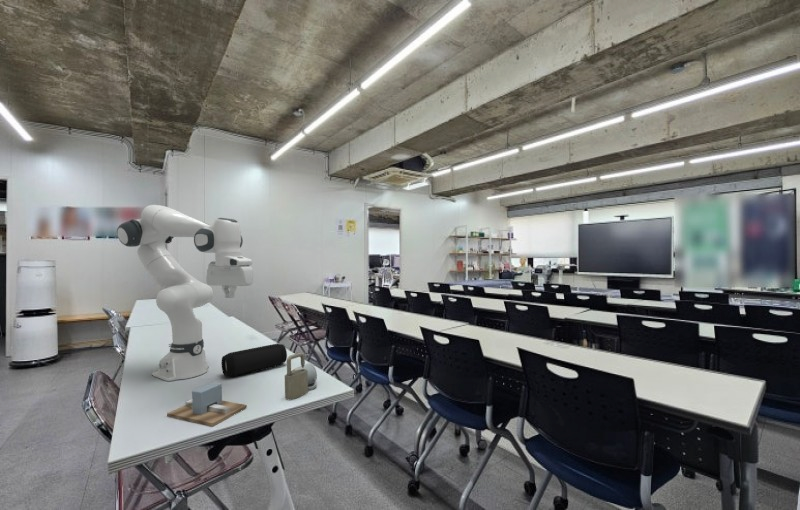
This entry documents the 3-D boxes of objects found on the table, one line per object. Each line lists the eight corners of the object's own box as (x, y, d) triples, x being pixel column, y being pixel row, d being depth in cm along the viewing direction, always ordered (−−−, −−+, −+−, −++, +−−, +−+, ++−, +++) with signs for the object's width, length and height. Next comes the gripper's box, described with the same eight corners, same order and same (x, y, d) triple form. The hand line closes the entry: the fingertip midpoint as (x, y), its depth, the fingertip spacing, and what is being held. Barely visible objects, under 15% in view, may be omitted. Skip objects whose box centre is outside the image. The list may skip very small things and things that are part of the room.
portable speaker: (279, 361, 165) (278, 340, 165) (288, 366, 157) (287, 344, 157) (221, 375, 148) (220, 351, 148) (227, 381, 140) (227, 356, 140)
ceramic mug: (288, 385, 134) (288, 366, 134) (307, 379, 139) (307, 361, 139) (302, 393, 126) (302, 373, 126) (322, 387, 132) (321, 367, 132)
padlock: (309, 392, 127) (308, 351, 126) (290, 400, 120) (289, 357, 120) (302, 390, 129) (301, 350, 129) (283, 398, 122) (282, 355, 122)
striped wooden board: (167, 416, 110) (166, 408, 110) (203, 399, 122) (203, 392, 122) (212, 426, 103) (212, 418, 103) (246, 408, 115) (246, 400, 115)
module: (192, 413, 110) (192, 391, 110) (213, 403, 117) (212, 382, 117) (201, 415, 108) (201, 392, 108) (222, 404, 115) (221, 384, 115)
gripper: (201, 261, 131) (202, 298, 131) (242, 260, 123) (243, 299, 123) (215, 261, 136) (216, 296, 136) (255, 260, 129) (256, 297, 129)
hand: (229, 297), depth 130 cm, fingers closed
